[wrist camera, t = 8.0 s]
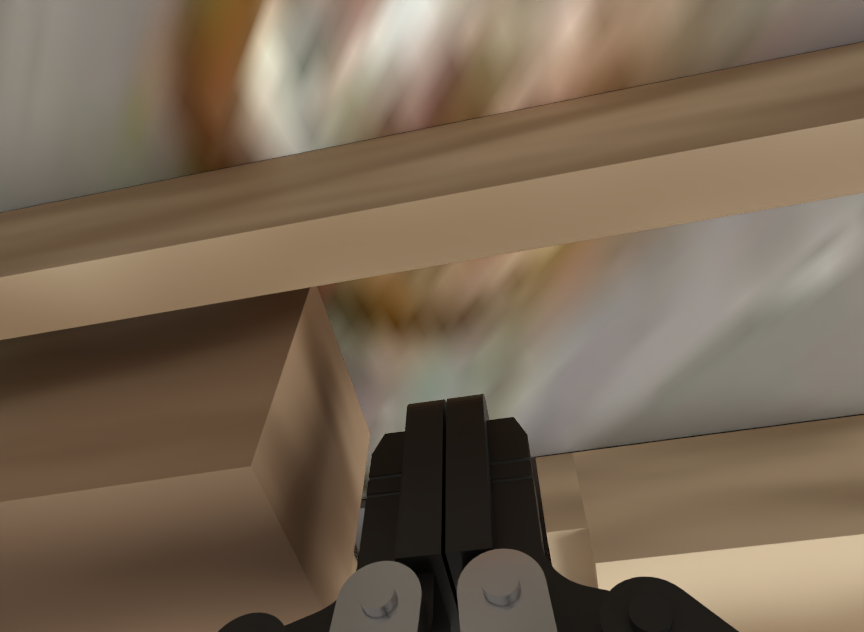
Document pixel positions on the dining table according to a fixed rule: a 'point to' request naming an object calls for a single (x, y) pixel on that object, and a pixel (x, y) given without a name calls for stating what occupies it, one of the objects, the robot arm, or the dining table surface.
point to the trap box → (518, 231)
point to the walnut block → (178, 469)
